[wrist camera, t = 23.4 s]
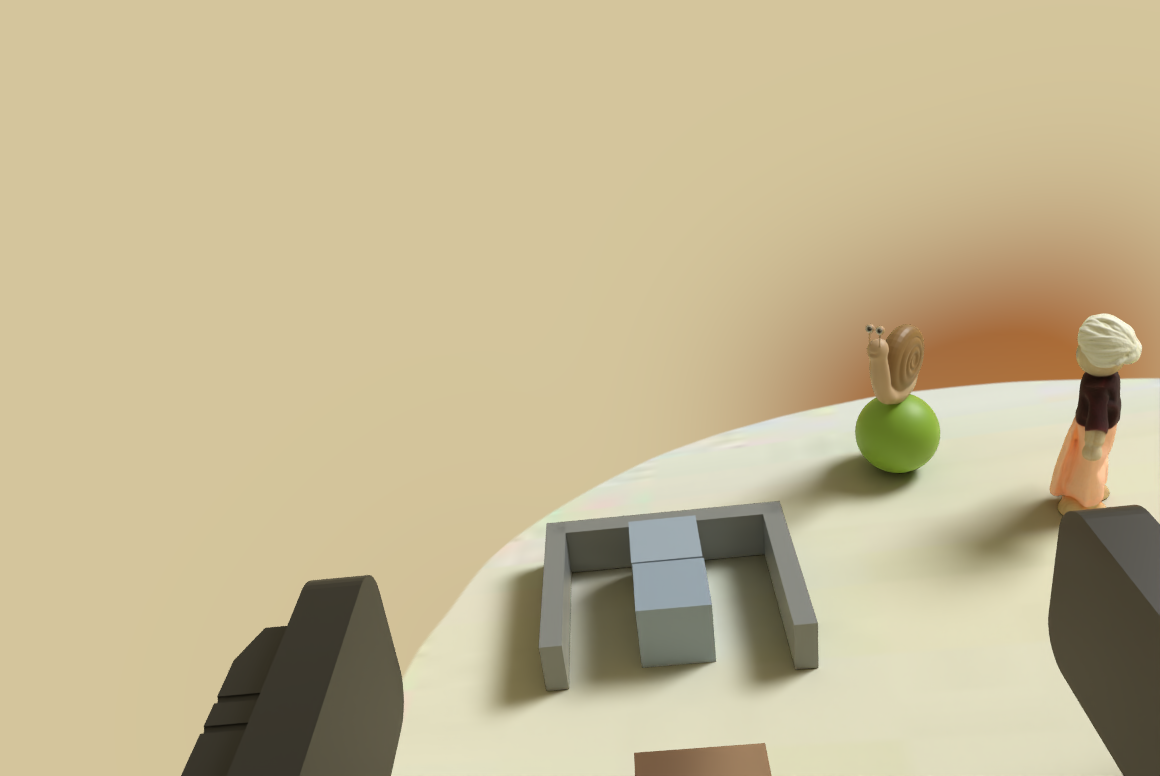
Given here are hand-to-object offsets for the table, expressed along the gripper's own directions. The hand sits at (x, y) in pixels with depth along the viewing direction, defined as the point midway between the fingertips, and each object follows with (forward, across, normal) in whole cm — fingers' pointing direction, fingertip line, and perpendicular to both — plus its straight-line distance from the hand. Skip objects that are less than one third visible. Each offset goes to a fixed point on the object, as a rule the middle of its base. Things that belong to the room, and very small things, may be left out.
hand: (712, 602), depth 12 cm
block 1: (+37, 0, +30) cm, 48 cm away
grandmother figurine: (+42, -26, +30) cm, 58 cm away
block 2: (+33, 0, +30) cm, 45 cm away
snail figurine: (+48, -16, +30) cm, 59 cm away
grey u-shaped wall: (+35, 0, +30) cm, 46 cm away
